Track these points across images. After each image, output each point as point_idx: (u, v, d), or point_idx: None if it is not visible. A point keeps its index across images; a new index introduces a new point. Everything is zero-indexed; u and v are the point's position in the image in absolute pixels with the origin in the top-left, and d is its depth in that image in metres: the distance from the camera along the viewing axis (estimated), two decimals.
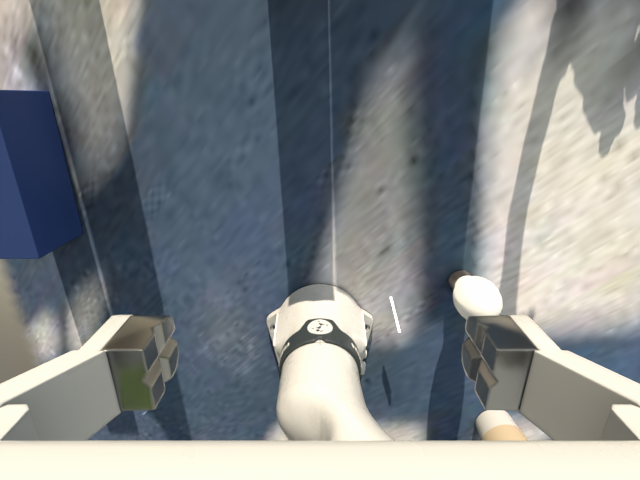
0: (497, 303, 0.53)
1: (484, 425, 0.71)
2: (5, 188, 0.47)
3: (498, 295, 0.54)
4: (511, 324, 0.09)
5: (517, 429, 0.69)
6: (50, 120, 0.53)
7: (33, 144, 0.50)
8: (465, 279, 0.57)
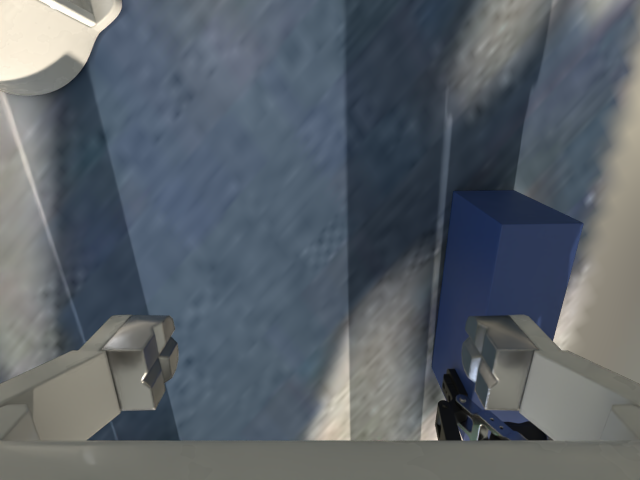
0: None
1: None
2: None
3: None
4: (511, 324, 0.09)
5: None
6: (438, 345, 0.42)
7: (455, 351, 0.37)
8: None
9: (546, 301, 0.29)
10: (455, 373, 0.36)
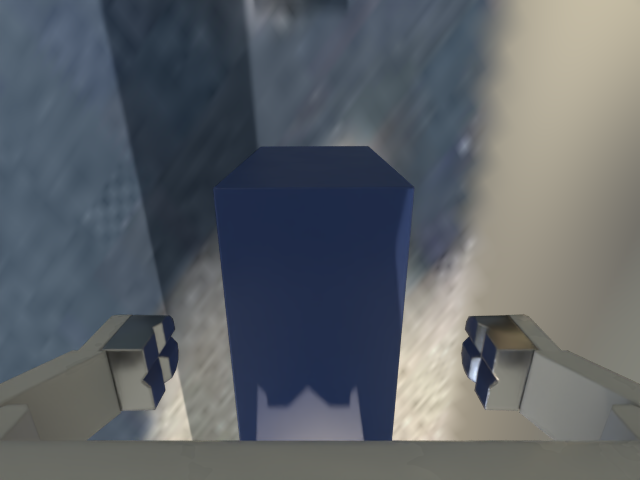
0: None
1: None
2: (279, 435, 0.14)
3: None
4: (511, 324, 0.09)
5: None
6: None
7: None
8: None
9: (361, 365, 0.13)
10: None
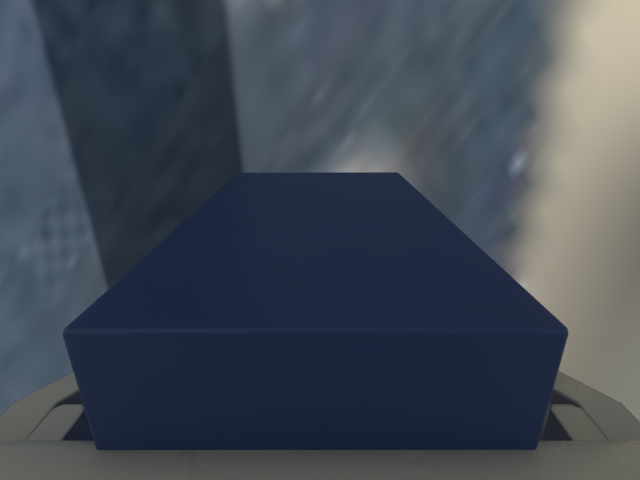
0: None
1: None
2: None
3: None
4: None
5: None
6: None
7: None
8: None
9: None
10: None
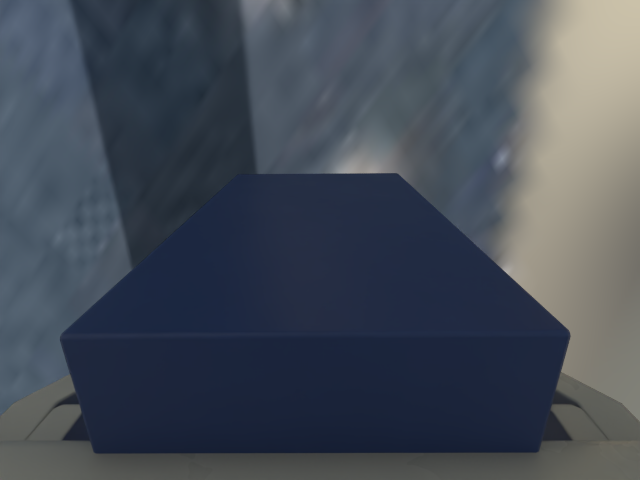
0: None
1: None
2: None
3: None
4: None
5: None
6: None
7: None
8: None
9: None
10: None
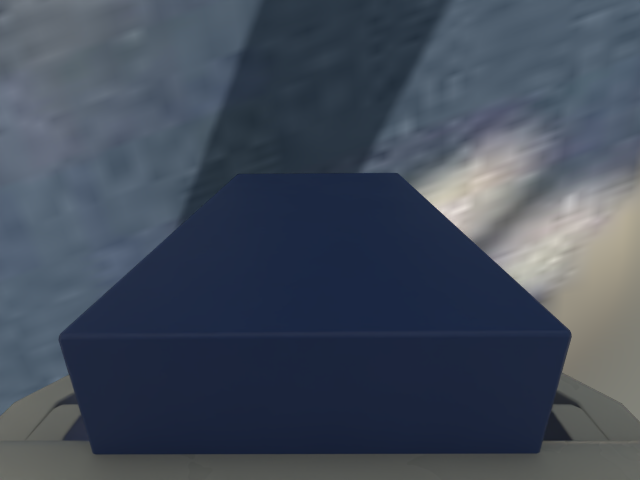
0: None
1: None
2: None
3: None
4: None
5: None
6: None
7: None
8: None
9: None
10: None
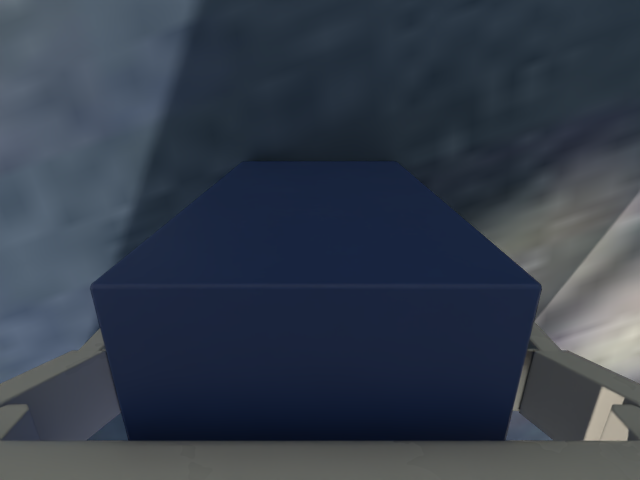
0: None
1: None
2: None
3: None
4: None
5: None
6: None
7: None
8: None
9: None
10: None
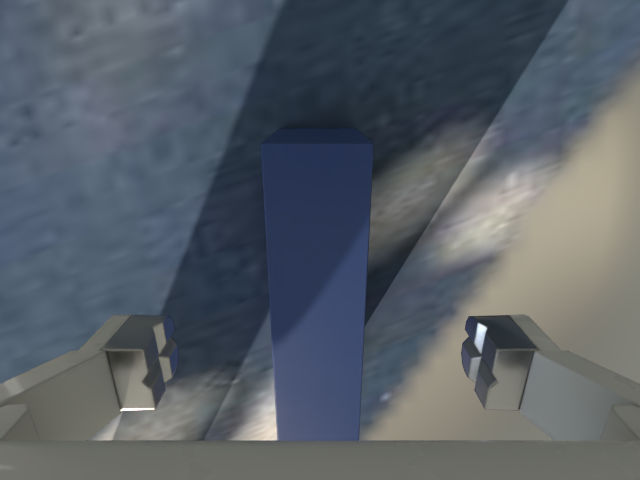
0: None
1: None
2: (294, 305, 0.23)
3: None
4: (511, 324, 0.09)
5: None
6: None
7: None
8: None
9: (345, 256, 0.22)
10: None
